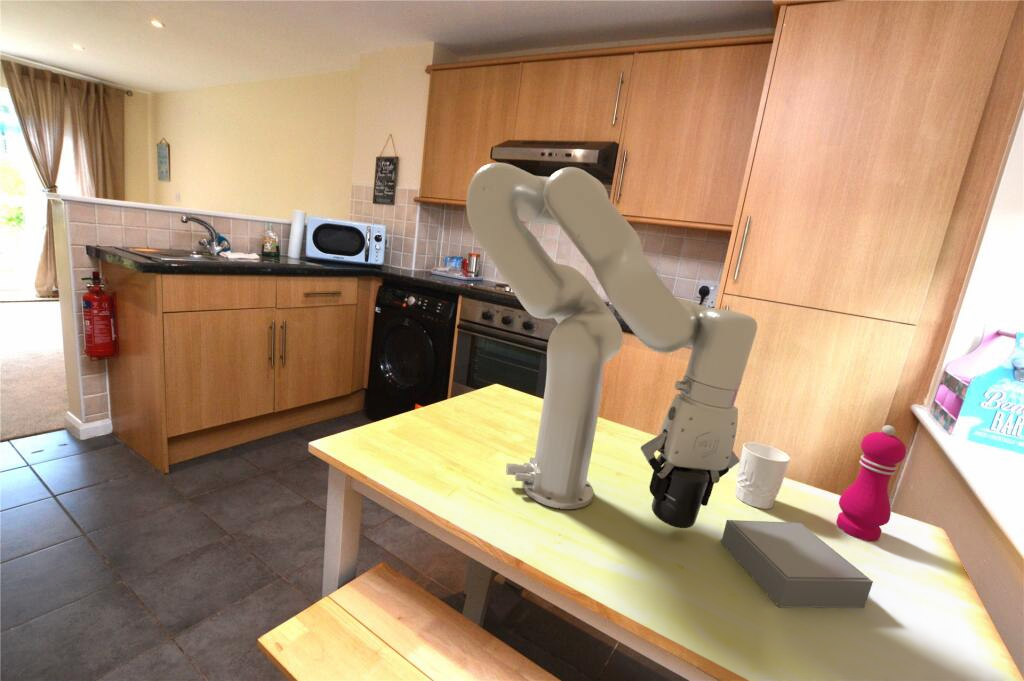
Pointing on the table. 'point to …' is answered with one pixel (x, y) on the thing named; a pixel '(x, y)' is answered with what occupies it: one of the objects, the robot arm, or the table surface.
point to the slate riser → (795, 565)
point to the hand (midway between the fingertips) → (677, 498)
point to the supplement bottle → (682, 497)
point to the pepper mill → (871, 486)
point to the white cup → (760, 474)
